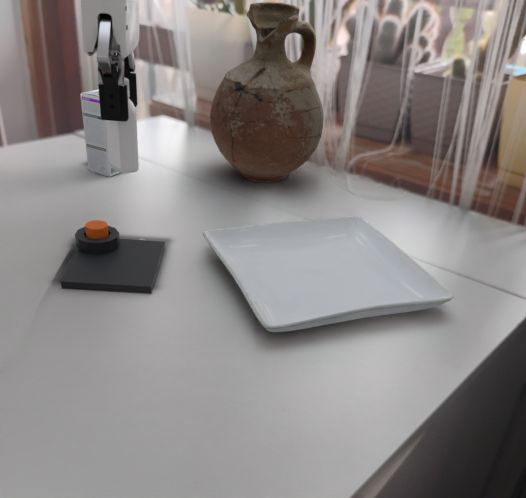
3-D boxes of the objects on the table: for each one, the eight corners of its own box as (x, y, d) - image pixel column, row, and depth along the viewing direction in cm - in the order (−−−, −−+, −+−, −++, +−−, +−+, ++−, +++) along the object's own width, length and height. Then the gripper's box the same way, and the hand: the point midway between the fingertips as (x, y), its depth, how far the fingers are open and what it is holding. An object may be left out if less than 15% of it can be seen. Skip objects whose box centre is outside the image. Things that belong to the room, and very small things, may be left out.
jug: (187, 167, 126) (187, -3, 109) (266, 150, 138) (277, -5, 121) (259, 202, 113) (272, 17, 96) (339, 180, 126) (363, 12, 109)
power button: (83, 239, 91) (82, 228, 90) (88, 230, 93) (87, 219, 92) (106, 241, 91) (105, 229, 90) (110, 231, 93) (109, 220, 92)
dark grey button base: (57, 288, 84) (54, 268, 82) (83, 241, 96) (81, 223, 94) (151, 294, 84) (150, 274, 83) (165, 246, 96) (165, 228, 95)
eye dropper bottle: (101, 172, 79) (93, 70, 72) (111, 158, 83) (104, 60, 76) (136, 175, 79) (131, 73, 72) (144, 160, 83) (140, 63, 76)
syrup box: (110, 177, 118) (104, 97, 110) (86, 170, 121) (79, 91, 112) (130, 170, 122) (126, 92, 114) (107, 163, 125) (102, 86, 116)
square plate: (199, 251, 96) (200, 227, 94) (357, 234, 105) (361, 212, 103) (263, 350, 76) (265, 323, 73) (451, 318, 85) (459, 293, 82)
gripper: (91, -69, 73) (103, 94, 84) (51, -63, 59) (71, 131, 70) (156, -63, 74) (159, 98, 84) (131, -56, 60) (139, 136, 70)
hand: (119, 111), depth 77 cm, fingers closed on eye dropper bottle, 5 cm apart
